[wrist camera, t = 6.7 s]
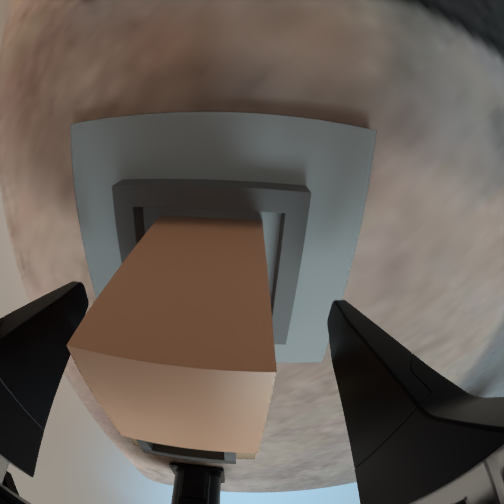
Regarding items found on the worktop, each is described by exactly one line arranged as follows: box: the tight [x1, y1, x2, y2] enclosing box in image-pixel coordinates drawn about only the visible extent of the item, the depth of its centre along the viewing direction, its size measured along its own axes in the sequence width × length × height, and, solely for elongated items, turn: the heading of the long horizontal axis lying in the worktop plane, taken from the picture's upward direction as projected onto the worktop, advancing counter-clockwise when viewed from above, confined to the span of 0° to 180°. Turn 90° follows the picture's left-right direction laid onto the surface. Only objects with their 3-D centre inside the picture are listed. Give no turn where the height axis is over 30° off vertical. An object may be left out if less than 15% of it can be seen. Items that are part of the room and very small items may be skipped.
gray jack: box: [71, 112, 376, 363], centre depth 11 cm, size 12×12×2 cm
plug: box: [66, 216, 277, 453], centre depth 8 cm, size 4×4×7 cm
